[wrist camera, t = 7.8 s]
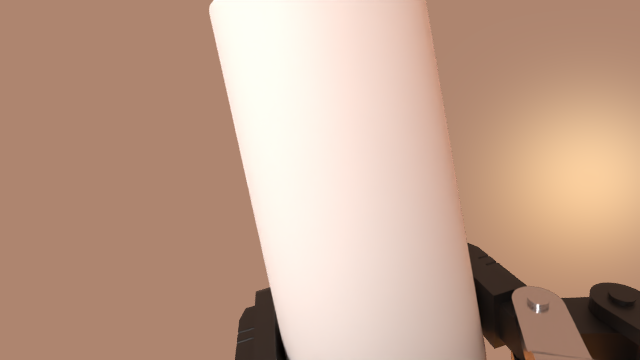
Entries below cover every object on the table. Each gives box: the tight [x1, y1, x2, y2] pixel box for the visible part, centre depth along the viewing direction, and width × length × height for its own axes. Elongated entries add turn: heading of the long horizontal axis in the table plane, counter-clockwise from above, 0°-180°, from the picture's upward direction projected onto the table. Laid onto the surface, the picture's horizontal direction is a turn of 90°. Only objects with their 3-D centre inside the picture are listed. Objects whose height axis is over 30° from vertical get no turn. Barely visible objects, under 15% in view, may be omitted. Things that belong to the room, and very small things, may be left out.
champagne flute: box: [209, 0, 486, 360], centre depth 11 cm, size 7×7×24 cm
